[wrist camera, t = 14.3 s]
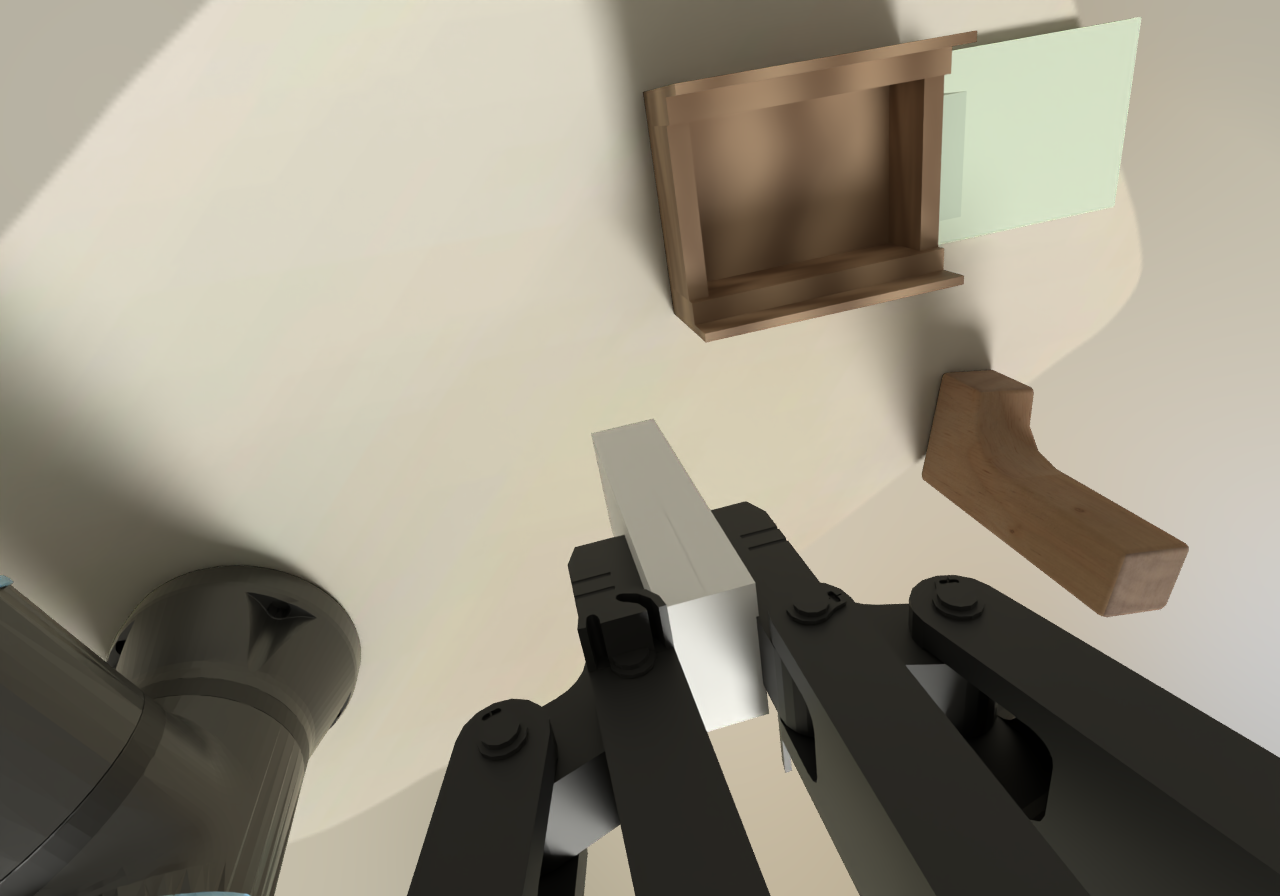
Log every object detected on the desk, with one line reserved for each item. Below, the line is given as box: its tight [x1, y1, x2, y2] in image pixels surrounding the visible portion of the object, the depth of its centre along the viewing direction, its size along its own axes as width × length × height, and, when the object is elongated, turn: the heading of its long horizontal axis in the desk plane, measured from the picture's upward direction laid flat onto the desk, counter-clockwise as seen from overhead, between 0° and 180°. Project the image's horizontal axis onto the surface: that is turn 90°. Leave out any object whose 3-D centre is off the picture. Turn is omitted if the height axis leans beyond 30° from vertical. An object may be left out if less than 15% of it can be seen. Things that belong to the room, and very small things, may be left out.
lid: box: [938, 17, 1141, 245], centre depth 43 cm, size 16×11×4 cm
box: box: [643, 31, 977, 342], centre depth 39 cm, size 16×13×7 cm
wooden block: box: [922, 370, 1189, 617], centre depth 45 cm, size 9×4×18 cm, turn 179°
